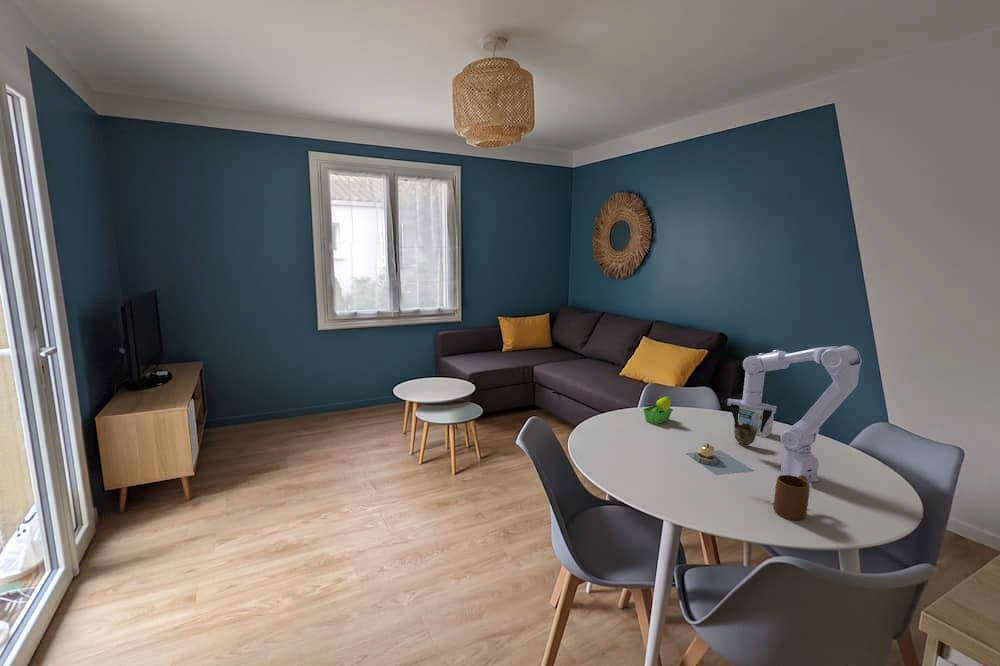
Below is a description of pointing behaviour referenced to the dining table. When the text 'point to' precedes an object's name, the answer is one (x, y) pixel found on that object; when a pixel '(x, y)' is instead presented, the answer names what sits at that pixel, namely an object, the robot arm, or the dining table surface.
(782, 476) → the mug
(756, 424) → the light bulb box
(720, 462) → the blue-grey flat slab
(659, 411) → the fruit basket
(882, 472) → the dining table surface
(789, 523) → the dining table surface
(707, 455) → the knob
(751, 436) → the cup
